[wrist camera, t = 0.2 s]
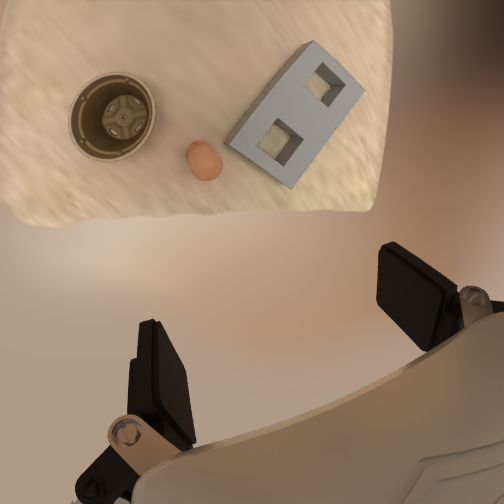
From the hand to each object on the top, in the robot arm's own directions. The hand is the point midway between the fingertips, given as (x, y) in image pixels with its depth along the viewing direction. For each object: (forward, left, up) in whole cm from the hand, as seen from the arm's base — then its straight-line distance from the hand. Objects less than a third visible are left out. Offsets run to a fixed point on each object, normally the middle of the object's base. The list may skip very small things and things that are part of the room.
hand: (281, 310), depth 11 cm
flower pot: (-1, -13, -30) cm, 33 cm away
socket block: (-14, +5, -30) cm, 33 cm away
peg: (-2, -2, -30) cm, 30 cm away
